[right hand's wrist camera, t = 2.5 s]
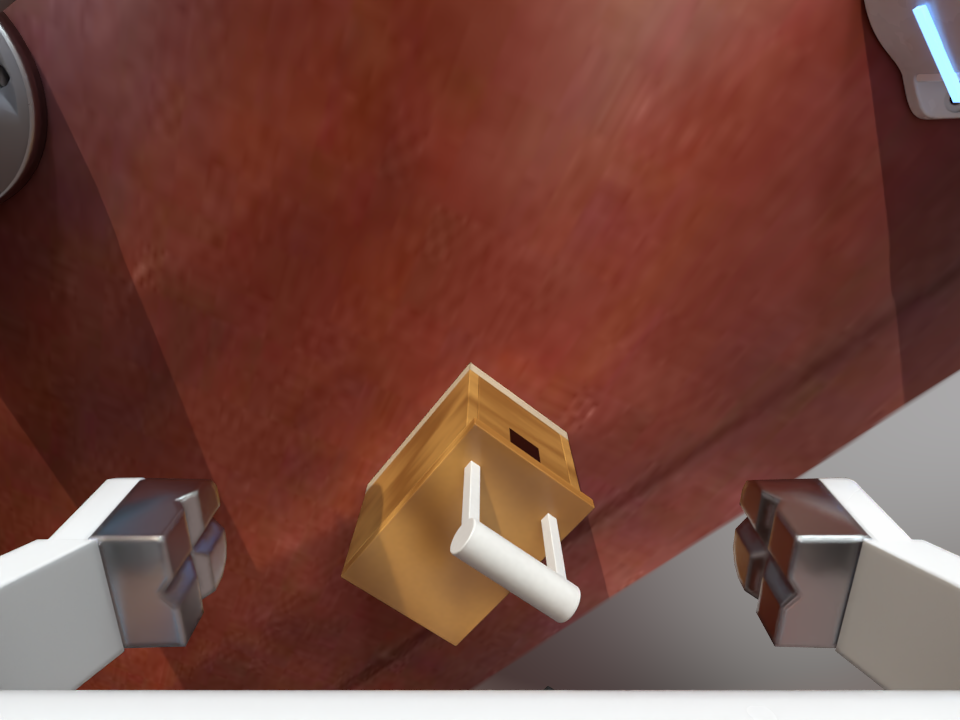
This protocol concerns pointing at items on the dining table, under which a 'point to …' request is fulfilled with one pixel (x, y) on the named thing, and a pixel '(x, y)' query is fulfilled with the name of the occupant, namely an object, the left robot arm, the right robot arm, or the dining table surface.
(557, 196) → the dining table surface
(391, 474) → the chest
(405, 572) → the lid
